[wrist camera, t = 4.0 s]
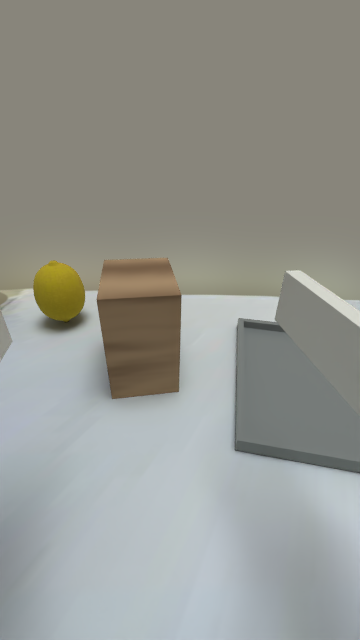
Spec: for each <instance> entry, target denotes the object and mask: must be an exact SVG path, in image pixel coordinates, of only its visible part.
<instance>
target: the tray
mask: <svg viewBox="0 0 360 640" xmlns="http://www.w3.org/2000/svg"><path fill="white" fill-rule="evenodd" d="M235 450H238V451H243V452H248V453H254V454H259V455H265V456H270V457H276V458H281V459H287V460H292V461H298V462H303V463H309V464H314V465H320V466H325V467H331V468H336V469H342V470H347V471H353V472H358V473H360V416H359V415H358V414H357V412H356V411H355V410H354V409H353V408H352V407H351V406H350V405H349V403H348V402H347V401H346V400H345V399H344V398H343V397H342V395H341V394H340V393H339V392H338V391H337V390H336V389H335V388H334V386H333V385H332V384H331V383H330V382H329V381H328V380H327V378H326V377H325V376H324V375H323V374H322V373H321V372H320V370H319V369H318V368H317V367H316V366H315V365H314V364H313V363H312V361H311V360H310V359H309V358H308V357H307V356H306V355H305V353H304V352H303V351H302V350H301V349H300V348H299V347H298V346H297V344H296V343H295V342H294V341H293V340H292V339H291V338H290V336H289V335H288V334H287V333H286V332H285V331H284V330H283V329H282V327H281V326H280V325H279V324H278V323H277V322H269V321H260V320H251V319H242V318H239V319H238V326H237V375H236V427H235Z"/></svg>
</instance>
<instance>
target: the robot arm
mask: <svg viewBox="0 0 360 640" xmlns="http://www.w3.org/2000/svg"><path fill="white" fill-rule="evenodd" d="M275 321H276V322H277V323H278V324H279V325H280V326H281V327H282V329H283V330H284V331H285V332H286V333H287V334H288V335H289V336H290V338H291V339H292V340H293V341H294V342H295V343H296V344H297V346H298V347H299V348H300V349H301V350H302V351H303V352H304V353H305V355H306V356H307V357H308V358H309V359H310V360H311V361H312V363H313V364H314V365H315V366H316V367H317V368H318V369H319V370H320V372H321V373H322V374H323V375H324V376H325V377H326V378H327V380H328V381H329V382H330V383H331V384H332V385H333V386H334V388H335V389H336V390H337V391H338V392H339V393H340V394H341V395H342V397H343V398H344V399H345V400H346V401H347V402H348V403H349V405H350V406H351V407H352V408H353V409H354V410H355V411H356V412H357V414H358V415H359V416H360V311H359V310H357V309H356V308H354V307H353V306H351V305H350V304H348V303H347V302H346V301H344V300H343V299H341V298H340V297H338V296H337V295H335V294H334V293H332V292H331V291H329V290H328V289H327V288H325V287H324V286H322V285H321V284H319V283H318V282H316V281H315V280H313V279H312V278H310V277H309V276H307V275H306V274H304V273H303V272H302V271H300V270H297V271H285V275H284V279H283V284H282V288H281V294H280V298H279V302H278V307H277V311H276V316H275ZM11 343H12V339H11V336H10V333H9V331H8V328H7V326H6V323H5V320H4V318H3V315H2V312H1V310H0V361H1V360H2V358H3V356H4V355H5V353H6V351H7V350H8V348H9V346H10V345H11Z"/></svg>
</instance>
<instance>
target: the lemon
mask: <svg viewBox="0 0 360 640" xmlns="http://www.w3.org/2000/svg"><path fill="white" fill-rule="evenodd" d="M33 289H34V296H35V300H36V302H37V304H38V306H39V308H40V310H41V311H42V312H43V313H44V314H45V315H46V316H48V317H49V318H52V319H54V320H60V321H64V322H68V321H69V320H70V319H72V318H74V317H75V316H77V315H78V314H79V313H80V311H81V310H82V308H83V306H84V302H85V290H84V286H83V284H82V281H81V279H80V277H79V275H78V274H77V272H76V271H75V270H74V269H73V268H71V267H70V266H68V265H66V264H63V263H58V262H57V261H50V262H49V264H47V265H45V266H43V267H42V268H41V269H40V270H39V271H38V272H37V274H36V275H35V279H34V288H33Z"/></svg>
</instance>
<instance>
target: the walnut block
mask: <svg viewBox="0 0 360 640" xmlns="http://www.w3.org/2000/svg"><path fill="white" fill-rule="evenodd" d="M97 305H98V311H99V318H100V324H101V331H102V337H103V343H104V350H105V356H106V362H107V369H108V375H109V381H110V388H111V394H112V399H117V398H126V397H135V396H144V395H154V394H163V393H172V392H179V366H180V329H181V293H180V290H179V287H178V284H177V282H176V279H175V276H174V274H173V271H172V268H171V265H170V263H169V260H168V258H148V259H120V260H104V264H103V269H102V275H101V280H100V285H99V290H98V295H97Z"/></svg>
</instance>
